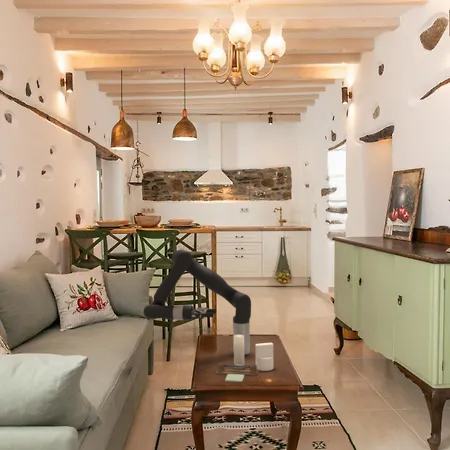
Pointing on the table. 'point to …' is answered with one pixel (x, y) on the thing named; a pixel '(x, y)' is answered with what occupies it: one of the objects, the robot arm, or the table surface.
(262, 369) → the cylinder with rectangular tab
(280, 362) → the table surface
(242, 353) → the tall cream cylinder
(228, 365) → the metal rod
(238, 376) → the sage mat
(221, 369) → the rail stand
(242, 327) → the robot arm
